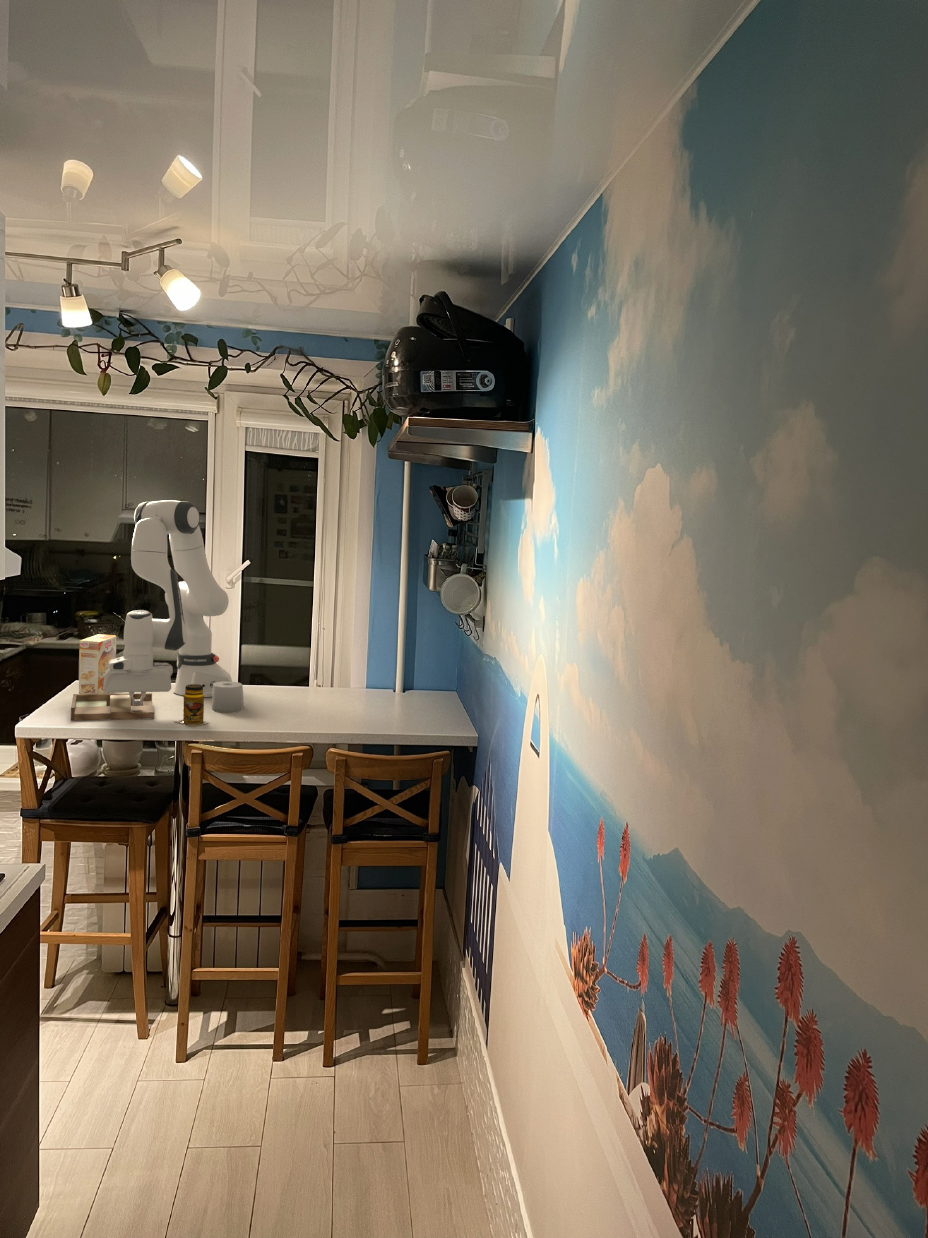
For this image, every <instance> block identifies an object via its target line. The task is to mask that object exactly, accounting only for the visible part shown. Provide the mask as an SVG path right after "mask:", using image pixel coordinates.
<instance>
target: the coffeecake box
mask: <svg viewBox="0 0 928 1238" xmlns="http://www.w3.org/2000/svg"><path fill="white" fill-rule="evenodd" d="M78 642H79V646H78V648H79V651H78V653H79V656H78V657H79V658H78V694H109V693H107V692H105V691H104V690H103V685H104V677H105V673H106V671H107V669H108V668H109V667H108V662H109V661H110V660H112V659H115V658H117V635H113V634H101V633H100V634H99V633H98V634H95V635H93V636H90V637H89V636H88V637H86V638H84V639H81V640H79V641H78Z"/></svg>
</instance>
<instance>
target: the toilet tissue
mask: <svg viewBox="0 0 928 1238" xmlns="http://www.w3.org/2000/svg"><path fill="white" fill-rule="evenodd" d="M243 689H244V687H243V684H242V683H241V682H237V681H232V682H231V681H222V682H216V683H214V684H213V694H212V697H211V698H212V699H211V700H212V701H211V710H212V711H213V712H216V713H221V714H233V713H234V714H235V713H238V712H240V711H241V710H243V709H244V708H245V703H244V702H245V701H244V700H245V699H244V690H243Z"/></svg>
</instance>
